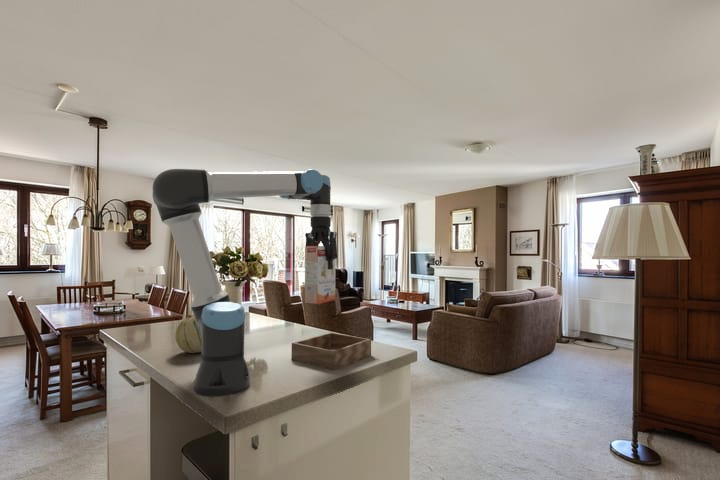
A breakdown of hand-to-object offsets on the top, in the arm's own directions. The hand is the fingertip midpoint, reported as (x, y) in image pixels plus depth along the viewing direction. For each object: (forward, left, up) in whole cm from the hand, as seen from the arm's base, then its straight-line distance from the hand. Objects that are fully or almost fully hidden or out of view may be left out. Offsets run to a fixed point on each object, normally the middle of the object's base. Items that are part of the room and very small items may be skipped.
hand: (320, 277), depth 134 cm
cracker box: (0, 0, -9) cm, 9 cm away
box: (+3, -4, -29) cm, 30 cm away
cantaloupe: (-23, +43, -30) cm, 57 cm away
